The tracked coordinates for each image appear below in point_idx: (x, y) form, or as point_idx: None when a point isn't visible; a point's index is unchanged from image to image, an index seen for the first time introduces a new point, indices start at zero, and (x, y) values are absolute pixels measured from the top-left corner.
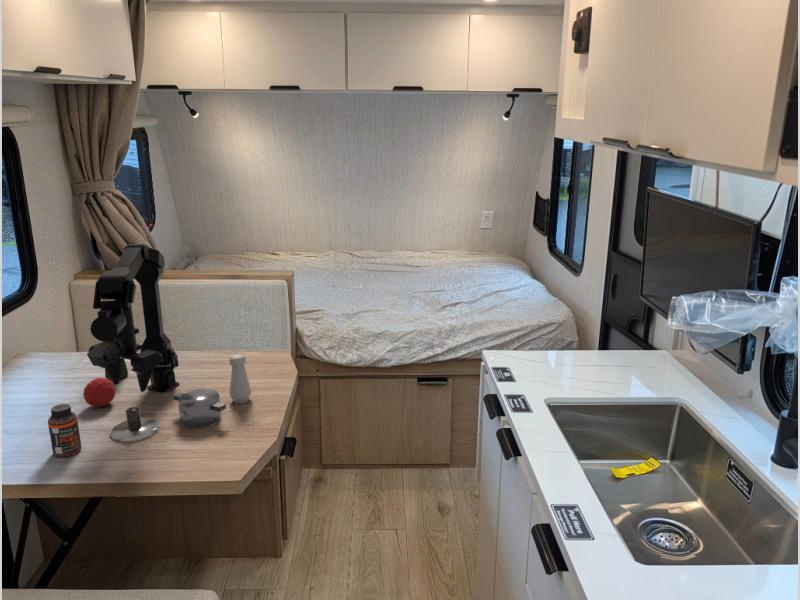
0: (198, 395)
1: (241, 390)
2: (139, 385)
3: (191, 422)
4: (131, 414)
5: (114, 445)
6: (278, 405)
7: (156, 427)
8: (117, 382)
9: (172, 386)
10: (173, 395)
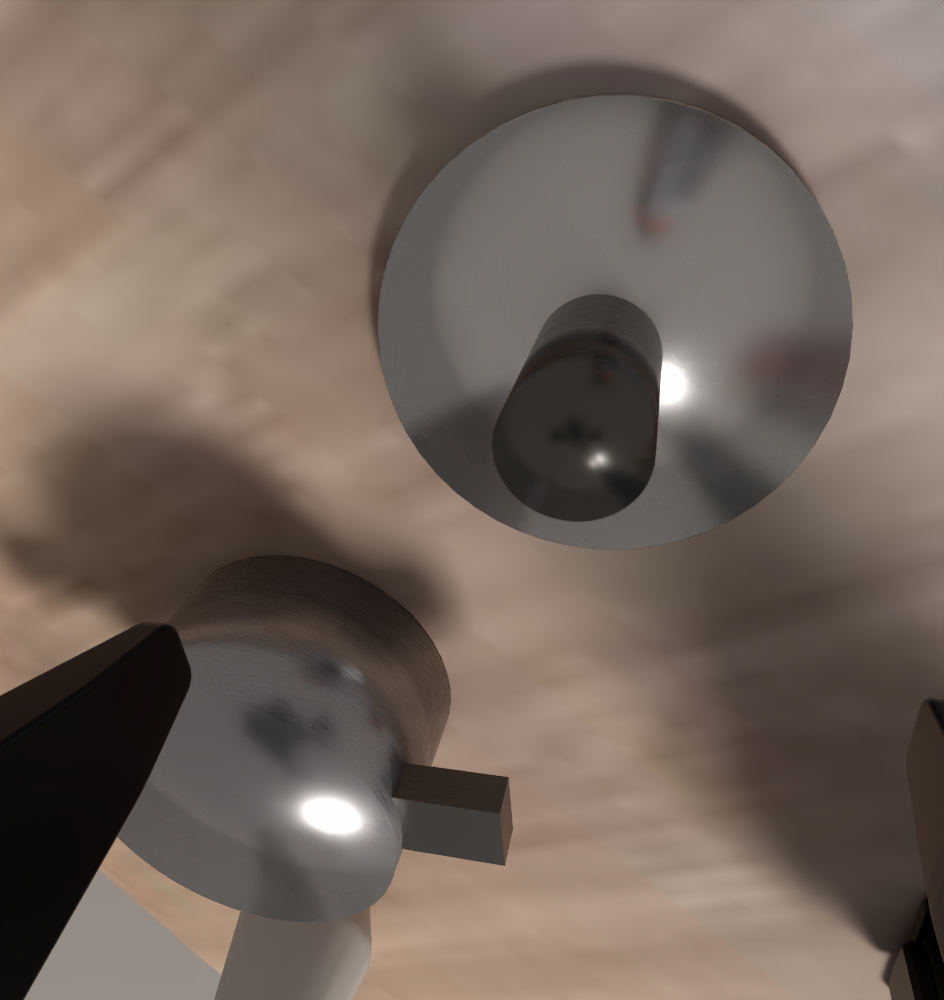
0: (263, 838)
1: (234, 945)
2: (56, 701)
3: (219, 588)
4: (522, 383)
5: (534, 4)
6: (126, 872)
7: (429, 450)
8: (921, 770)
9: (895, 964)
10: (490, 812)
